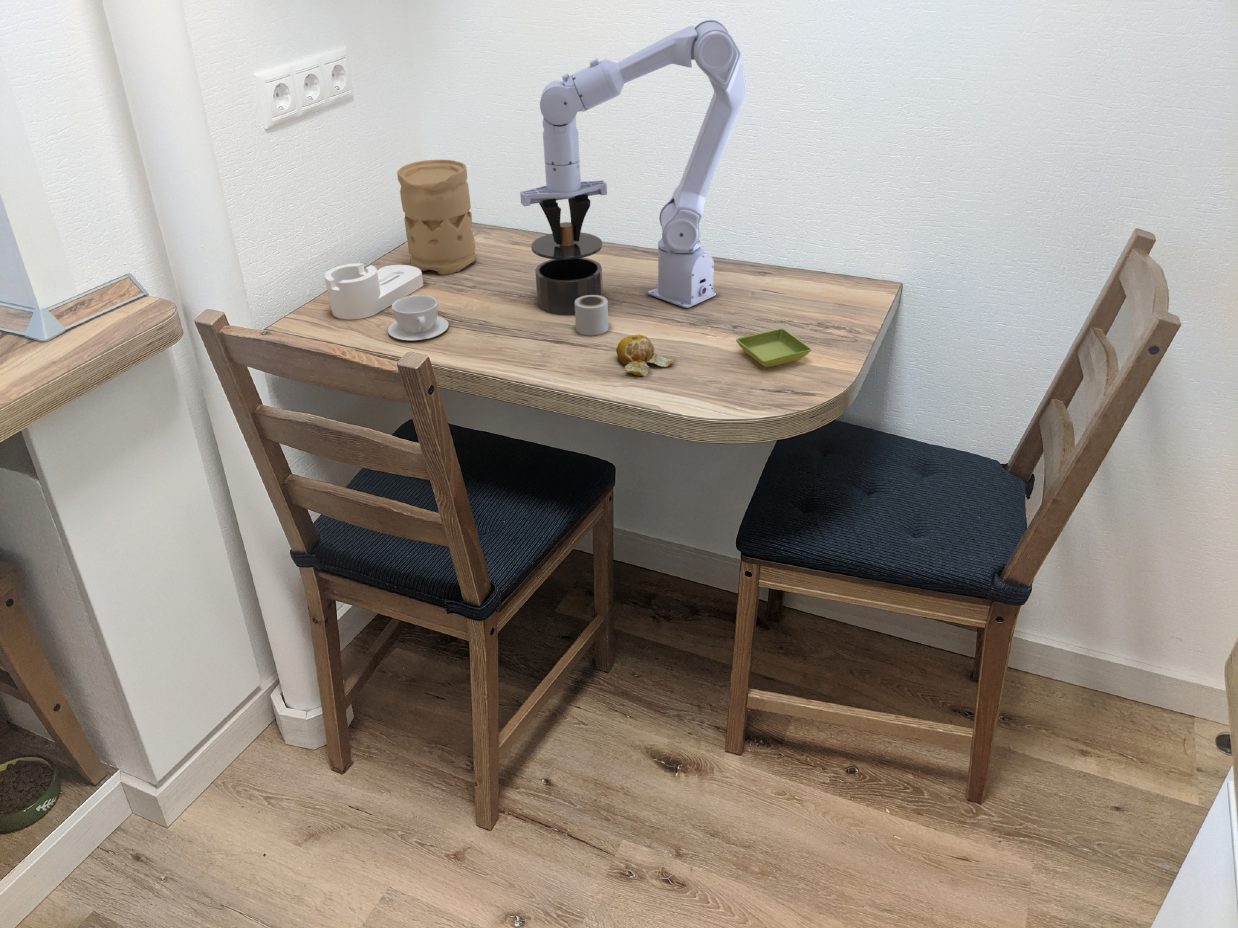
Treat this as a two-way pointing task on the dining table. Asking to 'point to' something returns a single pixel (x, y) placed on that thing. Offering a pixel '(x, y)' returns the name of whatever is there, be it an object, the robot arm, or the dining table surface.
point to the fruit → (639, 355)
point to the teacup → (416, 318)
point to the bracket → (369, 288)
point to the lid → (567, 245)
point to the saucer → (773, 347)
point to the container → (437, 215)
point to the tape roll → (591, 315)
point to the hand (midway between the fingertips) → (566, 241)
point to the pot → (566, 283)
